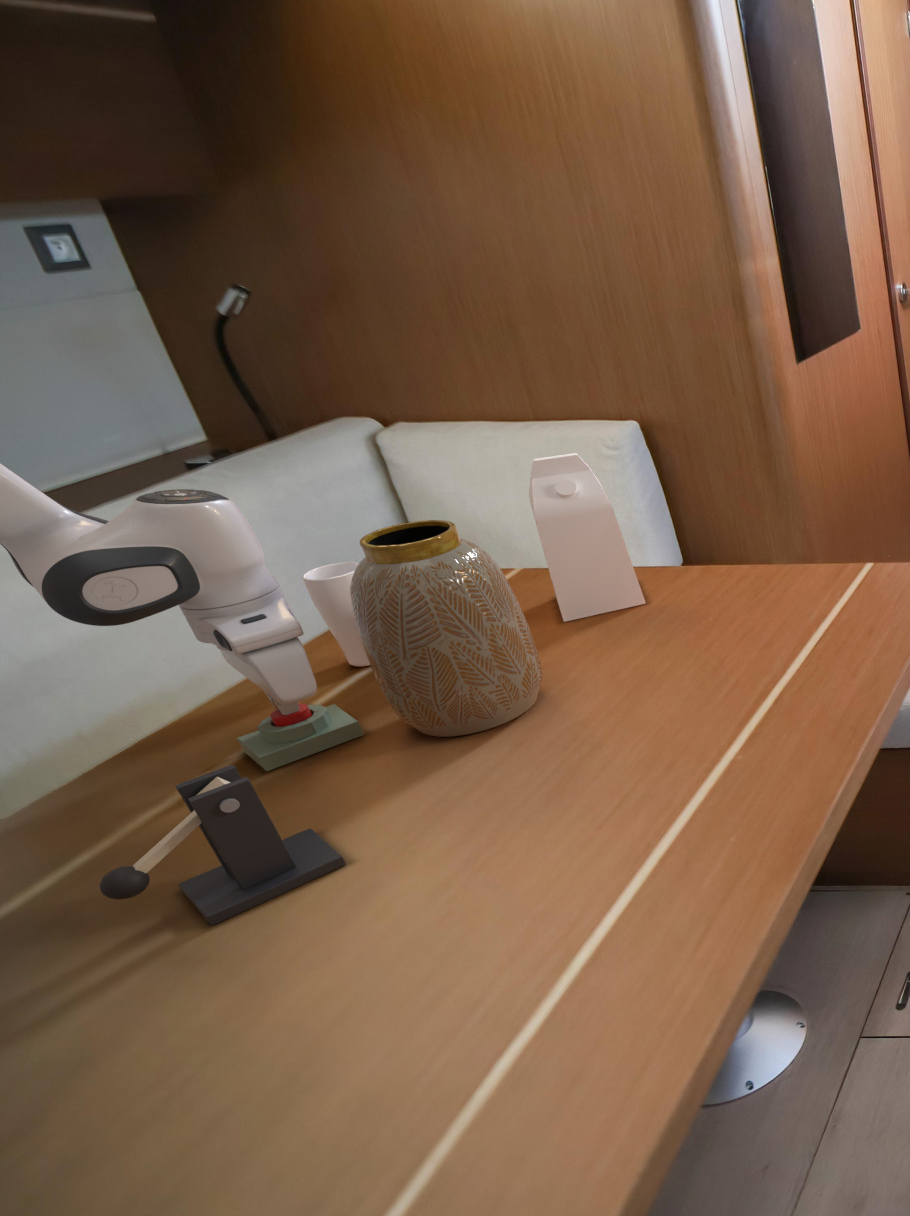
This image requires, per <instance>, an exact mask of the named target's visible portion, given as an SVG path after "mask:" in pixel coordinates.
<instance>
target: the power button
mask: <svg viewBox="0 0 910 1216" xmlns="http://www.w3.org/2000/svg"><path fill="white" fill-rule="evenodd" d="M298 705H299V707H300V710H299V711H298V712H295V713H292V714H289V715H283V714H281V713H280V712H279V711H278V710H276V709H275V710H274V711H272V712H271V713H270V715H269V717H271V719H272V721H273V723H274V725H275V727H284V726H289V725H294V724H297V723H299V722H302V721H305V720H306V719H308V718H310V717H311V716H312V714H311V712H310V710H309V708H308V706H307V705H308V704H307V703H303V702H301V703H300V702H298Z"/></svg>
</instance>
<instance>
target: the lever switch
mask: <svg viewBox="0 0 910 1216" xmlns="http://www.w3.org/2000/svg"><path fill="white" fill-rule="evenodd" d="M228 783H231V782H229V781H226V780H224V779H221V778H219V777H216V778H215V779H214V780H213V781H211V782H210V783H209V784H208V785H207V786H206V787H205V788H204V789H203V790H201V791H200V792H199V793H198V794H197V795H199V794H201V793H204V792H207V791H209V790H212V789H215V788H217V787H220V786H223V785H225V784H228ZM201 823H202V822H201V821H200V819H199V817H198V815H197V814H196V812H195V810H194V811H193V812H192V813H191V812H190V813H189V814H188V815H186V817H185V818H184V819H183V820H182V821H181V822H179V823H178V824H177V825H176V826H175V827H173V829H172V830H170V831H169V832H168V833H167V834H166V835H165V836H163V838H162V839H161V840H159V841H158V842H157V843H156V844H155V845H154V846H153V847H152V848H150V849H149V850H148V851H147V852H146V853H145V854H144V855H142V857H141V858H139V860H137V861H136V862H135V863H134V864H133V865H124V866H119V867H117V868H114V869H112V870H110V871H109V872H107V873H106V874H105V875H104V876H103V877H102V878H101V880H100V882H99V891H100V892H101V894H102V895H103V896H105V897H106V898H109V899H111V900H128V899H132V898H134V897H136V896H138V895H140V894H142V893H143V892H144V891H145V890H146V889H147V888H148V887H149V884H150V875H149V873H150V871H151V870H152V869H153V868H154V867H155V866H156V865H157V864H159V863H160V862H161V861H162V860H163V859H164V858H165V857H166V856H168V855H169V853H171V852H172V851H173V850H174V849H176V847H177V846H178V845H179V844H181V842H183V841H184V840H185V839H187V837H188V836H189V835H190V834H191V833H192V832H194V831H195V830H196V829H197V828H198V827H199V825H200V824H201ZM148 872H149V873H148Z"/></svg>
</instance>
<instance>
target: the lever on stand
mask: <svg viewBox="0 0 910 1216" xmlns="http://www.w3.org/2000/svg"><path fill="white" fill-rule="evenodd" d="M216 777H219V778H221V779H224V780H226V781H229V782H231V783H228V784H225V785H223V786H220V787H217V788H215V789H212V790H209V791H207V792H204V793H201V794H199V795H197V794H198V793H199V792H200V791H201V790H203V789H204V788H205V787H206V786H207V785H208V784H209V783H210V782H211V781H213V780H214V779H215V778H216ZM175 788H176V790H177V792H178V793H179V795H180V797H181V799H182V800H183V802H184V804H185V806H186V807H187V809H188V811H189V813H190V814H191V813H192V812H193V811H194V810H195V812H196V814H197V815H198V817H199V819H200V821H201V822H202V823H201V824H200V825H199V826H198V827H199V829H200V831H201V833H202V834H203V835H204V838H205V840H206V841H207V843H208V845H209V846H210V848H211V850H212V852H213V853H214V854H215V856H216V858H217V859H218V861H219V864H220V865H219V866H217V867H215V868H213V869H210V870H208V871H205V872H203V873H200V874H199V875H198V874H197V875H196V876H194V877H191V878H189V879H186V880H184V881H182V882H179V883H177V884H178V887H179V889H180V890H181V892H182V893H183V894H184V896H185V897H186V898H187V900H189V901H190V902H191V904H192V905H193V906H194V907H195V909H197V911H198V912H199V913H200V914H201V915H202V917H203V918H204V919H205V921H207V922H208V924H209V925H210V926H215V925H217V924H219V923H221V922H224V921H225V920H227V919H230V918H232V917H235V916H237V915H239V914H241V913H243V912H245V911H247V910H249V909H252V908H254V907H256V906H258V905H261V904H263V903H266V902H267V901H269V900H272V899H274V898H277V897H278V896H281V895H283V894H285V893H287V892H289V891H291V890H293V889H296V888H299V887H300V886H302V885H305V884H307V883H309V882H311V881H314V880H316V879H318V878H321V877H322V876H324V875H326V874H329V873H331V872H333V871H335V870H337V869H340V868H342V867H344V866H346V865H347V863H346V861H345V859H344V857H343V856H342V855H341V854H340V853H339V852H338V851H337V850H336V849H335V848H334V847H333V846H331V845H330V844H329V843H328V842H327V841H326V840H325V839H324V838H323V837H321V835H319V834H318V833H317V831H315V830H314V829H312V828H311V827H310V828H307V829H304V830H303V831H300V832H296V834H293V835H290V836H288V837H286V838H284V839H283V838H282V837H281V835H280V834H279V832H278V830H277V828H276V826H275V824H274V822H273V821H272V819H271V816H270V815H269V813H268V811H267V809H266V808H265V806H264V804H263V802H262V800H261V798H260V797H259V795H258V793H257V791H256V789H255V788H254V786H253V783H252V782H251V780H250V779H249V778H248V777H246V776H245V777H242V776H241V774H240V772H239V770H238V769H237V767H236V766H235V765H234V764H229V765H226V766H224V767H222V768H219V769H216V770H214V771H210V772H208V773H205V774H202V775H199V776H196V777H194V778H192V779H189V780H185V781H184V782H180V783H177V784H175Z"/></svg>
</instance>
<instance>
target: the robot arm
mask: <svg viewBox="0 0 910 1216" xmlns="http://www.w3.org/2000/svg"><path fill="white" fill-rule="evenodd" d="M0 545H1V546H2V547H3V548H4V549H5V550H6V552H7V553H8V555H9V557H10V558H11V561H12V562H13V564H14V566H15V568H16V569H17V571H18V573H19V575H20V576H21V577H22V578H23V580H25V581H26V582H27V583H28V584H29V585H30V586H32V587H33V588H34V589H35V590H36V592H37V593H38V594H39V596H40V597H41V598H42V600H44V602H45V603H46V604H47V605H48V606H49V607H50V609H51V610H53V611H54V612H55V613H56V614H58V615H60V616H61V617H63V618H65V619H67V620H69V621H72V622H75V623H78V624H82V625H87V626H96V627H113V626H114V627H115V626H122V625H126V624H130V623H133V622H134V623H135V622H137V621H141V620H143V619H147V618H148V617H152V616H154V615H157V614H160V613H162V612H165V611H167V610H171V609H172V608H175V607H177V606H179V609H180V611H181V612H182V615H183V617H185V620H186V622H187V624H188V626H189V627H190V630H191V631H192V633H193V635H194V637H195V640H197V641H198V642H201V643H204V644H211V645H214V646H216V648H217V649H218V650H219V651H220V654H221V655H222V657H223V659H224V660H225V661H226V663H227V664H228V665H229V666H231V667H232V668H233V669H234V670H236V671H237V672H238V673H240V674H241V675H242V676H243V677H245V678H246V679H248V681H250V682H251V683H252V684H254V685H255V686H256V687H258V688H259V689H260V690H261V691H262V692H263V693H264V694H265V696H266V697H267V698H268V699H269V701H270V703H271V705H272V707H273V709H275V710H278V711H279V712H280V713H281V714H283V715H289V714H292V713H295V712H298V711H299V710H300V707H299V705H298V704H299V702H301V701H304V700H306V699H309V698H312V697H314V696H316V695H317V693H318V683H317V680H316V677H315V675H314V672H313V669H312V666H311V663H310V660H309V658H308V655H307V652H306V650H305V647H304V646H303V644H302V643H303V642H302V641H301V640H300V638H299V637H302V636H303V635H304V633H305V632H304V630H303V627H302V625H301V623H300V622H299V621H298V619H297V617H296V616H295V615H294V613H293V611H292V608H291V606H290V604H289V602H288V600H287V597H286V596H285V594H284V591H283V590H282V587H281V585H280V583H279V581H278V580H277V578H276V577H275V576H274V575H273V574H272V573H271V572H270V571H269V569H268V568H267V566H266V562H265V552H264V550H263V547H262V545H261V543H260V541H259V539H258V537H257V535H256V533H255V531H254V529H253V528H252V526H251V524H250V523H249V520H248V519H247V517H246V516H245V515H244V513H243V512H242V510H241V509H240V507H238V505H237V504H236V503H235V502H234V501H232V499H230V498H228V497H226V496H224V495H222V494H220V493H217V492H214V491H210V490H206V489H205V490H204V489H194V488H193V489H189V488H188V489H187V488H186V489H185V488H181V489H177V488H176V489H165V490H157V491H154V492H149V493H144V494H142V495H139V496H137V497H135V499H134V500H133V502H132V503H131V504H130V505H129V506H128V507H127V508H126V509H125V510H123V511H122V512H121V513H119V514H118V515H117V516H115V517H113V518H112V519H111V520H107V519H103V518H100V517H97V516H93V515H89V514H85V513H83V512H79V511H77V510H73V509H70V508H68V507H66V506H64V505H63V504H61V503H59V502H58V501H56V500H55V499H53V498H51V497H50V496H49V495H47V494H46V493H45V492H43V491H42V490H41V489H39V488H37V487H35V486H34V485H32V483H30V482H29V481H27V480H26V479H24V478H23V477H22V476H20V475H18V474H17V473H15V472H14V471H13V470H11V469H10V468H8V467H6V466H5V465H4V464H2V463H1V462H0Z"/></svg>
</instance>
